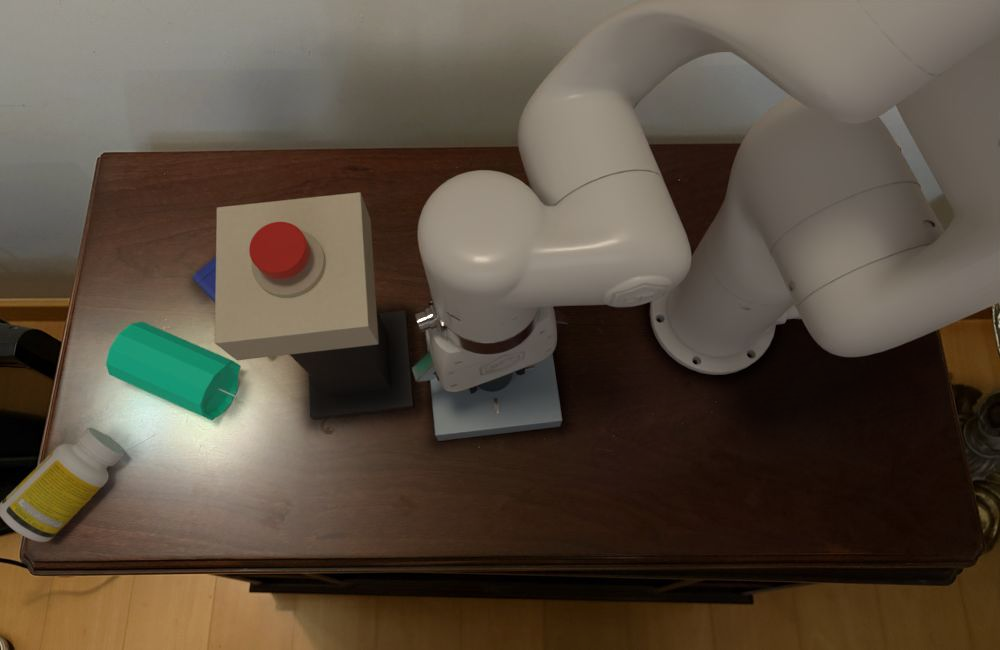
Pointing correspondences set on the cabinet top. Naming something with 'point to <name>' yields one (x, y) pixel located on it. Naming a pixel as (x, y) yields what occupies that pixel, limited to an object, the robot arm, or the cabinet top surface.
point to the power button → (279, 250)
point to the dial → (496, 383)
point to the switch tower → (315, 306)
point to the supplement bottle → (60, 486)
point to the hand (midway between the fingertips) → (492, 368)
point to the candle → (174, 369)
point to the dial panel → (499, 405)
